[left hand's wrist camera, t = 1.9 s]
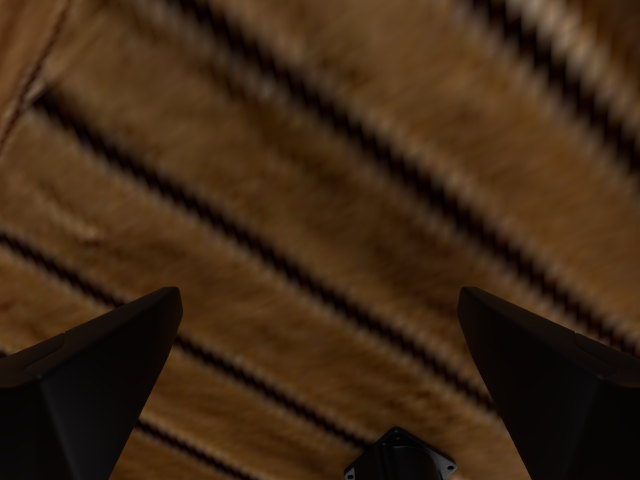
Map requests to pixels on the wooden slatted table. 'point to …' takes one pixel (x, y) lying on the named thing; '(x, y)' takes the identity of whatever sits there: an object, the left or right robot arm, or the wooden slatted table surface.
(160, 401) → the wooden slatted table surface
